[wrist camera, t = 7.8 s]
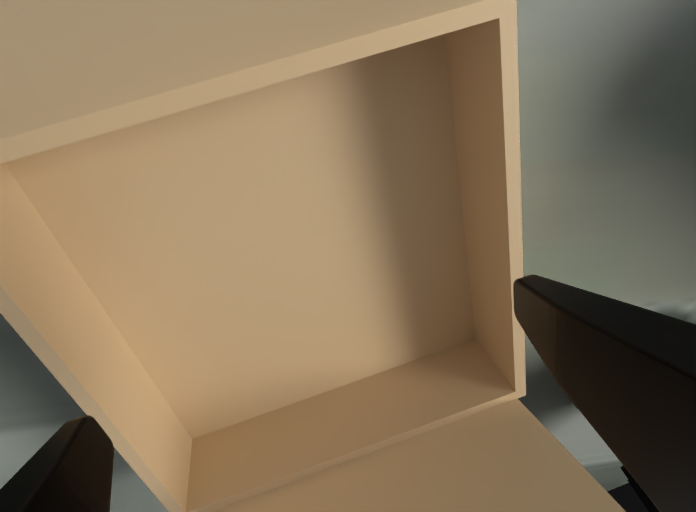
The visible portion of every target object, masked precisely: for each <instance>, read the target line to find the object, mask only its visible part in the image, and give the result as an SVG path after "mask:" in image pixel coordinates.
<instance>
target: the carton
mask: <svg viewBox="0 0 696 512" xmlns="http://www.w3.org/2000/svg"><path fill="white" fill-rule="evenodd" d="M522 277H523V246H522V205H521V163H520V122H519V80H518V39H517V0H484V1H481V2H477V3H474V4H470V5H467V6H463V7H460V8H456V9H453V10H449V11H446V12H443V13H439V14H436V15H432V16H429V17H425V18H422V19H418V20H415V21H411V22H408V23H404V24H401V25H397V26H394V27H390V28H387V29H383V30H380V31H377V32H373V33H370V34H366V35H363V36H359V37H356V38H352V39H349V40H345V41H342V42H338V43H335V44H331V45H328V46H324V47H321V48H318V49H314V50H311V51H307V52H304V53H300V54H297V55H293V56H290V57H286V58H283V59H279V60H276V61H272V62H269V63H265V64H262V65H259V66H255V67H252V68H248V69H245V70H241V71H238V72H234V73H231V74H227V75H224V76H220V77H217V78H213V79H210V80H206V81H203V82H199V83H196V84H193V85H189V86H186V87H182V88H179V89H175V90H172V91H168V92H165V93H161V94H158V95H154V96H151V97H147V98H144V99H140V100H137V101H134V102H130V103H127V104H123V105H120V106H116V107H113V108H109V109H106V110H102V111H99V112H95V113H92V114H88V115H85V116H81V117H78V118H74V119H71V120H68V121H64V122H61V123H57V124H54V125H50V126H47V127H43V128H40V129H36V130H33V131H29V132H26V133H22V134H19V135H15V136H12V137H9V138H5V139H2V140H0V313H1V314H2V315H3V317H4V318H5V319H6V320H7V321H8V323H9V324H10V325H11V326H12V327H13V328H14V330H15V331H16V332H17V333H18V334H19V336H20V337H21V338H22V339H23V340H24V341H25V343H26V344H27V345H28V346H29V347H30V348H31V350H32V351H33V352H34V353H35V354H36V356H37V357H38V358H39V359H40V360H41V361H42V363H43V364H44V365H45V366H46V367H47V369H48V370H49V371H50V372H51V373H52V374H53V376H54V377H55V378H56V379H57V380H58V381H59V383H60V384H61V385H62V386H63V387H64V389H65V390H66V391H67V392H68V393H69V394H70V396H71V397H72V398H73V399H74V400H75V402H76V403H77V404H78V405H79V406H80V407H81V409H82V410H83V411H84V412H85V413H86V414H87V415H90V416H92V417H94V418H95V419H96V421H97V422H98V423H99V425H100V426H101V427H102V428H103V430H104V431H105V432H106V434H107V435H108V436H109V437H110V439H111V441H112V443H113V446H114V448H115V449H116V450H117V451H118V452H119V453H120V455H121V456H122V457H123V458H124V459H125V460H126V462H127V463H128V464H129V465H130V466H131V468H132V469H133V470H134V471H135V472H136V473H137V475H138V476H139V477H140V478H141V479H142V481H143V482H144V483H145V484H146V485H147V486H148V488H149V489H150V490H151V491H152V492H153V493H154V495H155V496H156V497H157V498H158V499H159V501H160V502H161V503H162V504H163V505H164V506H165V508H166V509H167V510H168V511H169V512H212V511H215V510H217V509H220V508H223V507H225V506H228V505H231V504H234V503H236V502H239V501H242V500H244V499H247V498H250V497H252V496H255V495H258V494H261V493H263V492H266V491H269V490H271V489H274V488H277V487H279V486H282V485H285V484H288V483H290V482H293V481H296V480H298V479H301V478H304V477H307V476H309V475H312V474H315V473H317V472H320V471H323V470H325V469H328V468H331V467H334V466H336V465H339V464H342V463H344V462H347V461H350V460H352V459H355V458H358V457H361V456H363V455H366V454H369V453H371V452H374V451H377V450H380V449H382V448H385V447H388V446H390V445H393V444H396V443H398V442H401V441H404V440H407V439H409V438H412V437H415V436H417V435H420V434H423V433H425V432H428V431H431V430H434V429H436V428H439V427H442V426H444V425H447V424H450V423H453V422H455V421H458V420H461V419H463V418H466V417H469V416H471V415H474V414H477V413H480V412H482V411H485V410H488V409H490V408H493V407H496V406H498V405H501V404H504V403H507V402H509V401H512V400H515V399H517V398H520V397H523V396H526V370H525V332H524V330H523V329H522V327H521V325H520V324H519V322H518V321H517V319H516V316H515V313H514V298H513V284H514V281H515V280H516V279H518V278H522Z"/></svg>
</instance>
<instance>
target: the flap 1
mask: <svg viewBox="0 0 696 512" xmlns="http://www.w3.org/2000/svg"><path fill="white" fill-rule="evenodd" d="M481 1H484V0H0V140H2V139H5V138H9V137H12V136H15V135H19V134H22V133H26V132H29V131H33V130H36V129H40V128H43V127H47V126H50V125H54V124H57V123H61V122H64V121H68V120H71V119H74V118H78V117H81V116H85V115H88V114H92V113H95V112H99V111H102V110H106V109H109V108H113V107H116V106H120V105H123V104H127V103H130V102H134V101H137V100H140V99H144V98H147V97H151V96H154V95H158V94H161V93H165V92H168V91H172V90H175V89H179V88H182V87H186V86H189V85H193V84H196V83H199V82H203V81H206V80H210V79H213V78H217V77H220V76H224V75H227V74H231V73H234V72H238V71H241V70H245V69H248V68H252V67H255V66H259V65H262V64H265V63H269V62H272V61H276V60H279V59H283V58H286V57H290V56H293V55H297V54H300V53H304V52H307V51H311V50H314V49H318V48H321V47H324V46H328V45H331V44H335V43H338V42H342V41H345V40H349V39H352V38H356V37H359V36H363V35H366V34H370V33H373V32H377V31H380V30H383V29H387V28H390V27H394V26H397V25H401V24H404V23H408V22H411V21H415V20H418V19H422V18H425V17H429V16H432V15H436V14H439V13H443V12H446V11H449V10H453V9H456V8H460V7H463V6H467V5H470V4H474V3H477V2H481Z"/></svg>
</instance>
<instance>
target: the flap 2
mask: <svg viewBox="0 0 696 512" xmlns="http://www.w3.org/2000/svg"><path fill="white" fill-rule="evenodd" d="M212 512H626V511H625V510H624V509H623V508H622V507H621V506H620V505H619V504H618V503H617V502H616V501H615V500H614V499H613V498H612V497H611V495H610V494H609V493H608V492H607V491H606V490H605V489H604V488H603V487H602V486H601V485H600V484H599V483H598V482H597V481H596V480H595V479H594V478H593V477H592V476H591V475H590V474H589V473H588V471H587V470H586V469H585V468H584V467H583V466H582V465H581V464H580V463H579V462H578V461H577V460H576V459H575V458H574V457H573V456H572V455H571V454H570V453H569V452H568V451H567V450H566V449H565V447H564V446H563V445H562V444H561V443H560V442H559V441H558V440H557V439H556V438H555V437H554V436H553V435H552V434H551V433H550V432H549V431H548V430H547V429H546V428H545V427H544V426H543V425H542V423H541V422H540V421H539V420H538V419H537V418H536V417H535V416H534V415H533V414H532V413H531V412H530V411H529V410H528V409H527V408H526V407H525V406H524V405H523V404H522V403H521V402H520V400H519V399H518V398H517V399H515V400H512V401H509V402H507V403H504V404H501V405H498V406H496V407H493V408H490V409H488V410H485V411H482V412H480V413H477V414H474V415H471V416H469V417H466V418H463V419H461V420H458V421H455V422H453V423H450V424H447V425H444V426H442V427H439V428H436V429H434V430H431V431H428V432H425V433H423V434H420V435H417V436H415V437H412V438H409V439H407V440H404V441H401V442H398V443H396V444H393V445H390V446H388V447H385V448H382V449H380V450H377V451H374V452H371V453H369V454H366V455H363V456H361V457H358V458H355V459H352V460H350V461H347V462H344V463H342V464H339V465H336V466H334V467H331V468H328V469H325V470H323V471H320V472H317V473H315V474H312V475H309V476H307V477H304V478H301V479H298V480H296V481H293V482H290V483H288V484H285V485H282V486H279V487H277V488H274V489H271V490H269V491H266V492H263V493H261V494H258V495H255V496H252V497H250V498H247V499H244V500H242V501H239V502H236V503H234V504H231V505H228V506H225V507H223V508H220V509H217V510H215V511H212Z"/></svg>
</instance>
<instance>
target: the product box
mask: <svg viewBox="0 0 696 512" xmlns="http://www.w3.org/2000/svg"><path fill="white" fill-rule="evenodd" d="M608 493H609V494H610V495H611V497H612V498H613V499H614V500H615V501H616V502H617V503H618V504H619V505H620V506H621V507H622V508H623V509H624V510H625V511H626V512H649V511H648V510H647V508H646V507H645V505H644V504H643V502H642V501H641V499H640V498H639V497H638V495H637V494H636V492H635V491H634V489H633V488H632V486H631V485H630V483H627V484H625V485H623V486H620V487H618V488H615V489H613V490H611V491H608Z"/></svg>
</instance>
